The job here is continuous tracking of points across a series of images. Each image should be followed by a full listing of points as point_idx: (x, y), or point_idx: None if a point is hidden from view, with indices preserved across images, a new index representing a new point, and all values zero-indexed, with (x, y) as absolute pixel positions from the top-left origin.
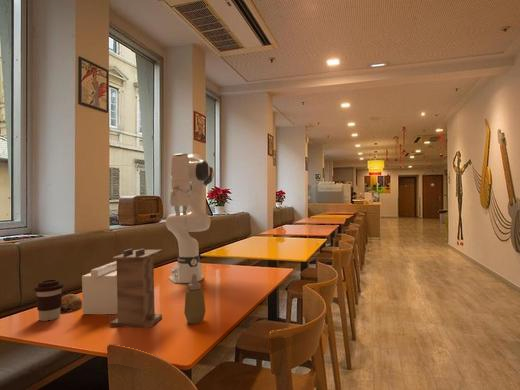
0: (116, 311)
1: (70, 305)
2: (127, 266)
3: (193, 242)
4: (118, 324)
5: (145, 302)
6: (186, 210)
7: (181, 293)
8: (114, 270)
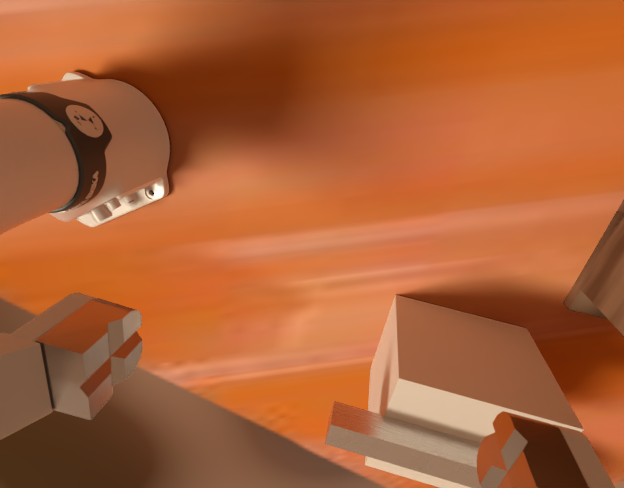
0: (518, 330)
1: None
2: None
3: None
4: None
5: None
6: (6, 349)
7: (320, 149)
8: (456, 436)
